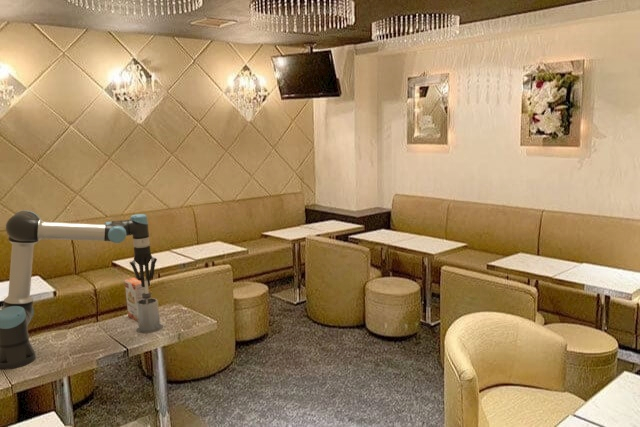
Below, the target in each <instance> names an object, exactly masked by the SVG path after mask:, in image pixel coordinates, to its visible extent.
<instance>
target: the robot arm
mask: <svg viewBox="0 0 640 427" xmlns="http://www.w3.org/2000/svg"><path fill="white" fill-rule="evenodd" d="M5 231H6V233H7V236H8V242H9V243H10V244H11V254H10V265H9V266H10V268H9V269H10V270H9V283H8V292H7V293H8V294H7V296H6V297H5V298H4V299H3V308H2V309H0V369H1V370H9V369H16V368H19V367H23V366H26V365H29V364H30V363H33V361H35V360H36V358H37V355H36V351H35V349H34V348H33V345H32V344H31V342H30V338H29V329H28V326H29V324H30V322H31V320H32V319H33V317H34V314H35V313H34V312H35V311H34V298H33V297H32V296H31V286H32V285H31V284H32V273H33V262H34V261H33V260H34V247H35V245H36V244H37V243H39V242H40V241H41V240H65V241H69V240H70V241H92V242H93V241H97V242H99V241H100V242H111V243H114V244H120V243H122V242H124V240H125V239H126V237H127V236H128V237H129V236H132V243H133V245H132V246H133V254H134V256H133V260H131V261H129V265H130V266H131V267H132V270H133V273H134V276H135V278H136V279H137V280H139V281H141V286H142V287H144V293H145V294H148V293H149V292H150V289H149V287H151V281H150V280H151V279H153V278H154V274H155V267H156V263H157V262H158V259H157V258H156V257H153V254H152V253H151V246H150V244H151V243H150V233H149V221H148V216H147V215H146V214H144V213H136V214H133V215H131V216H130V219H125V220H111V221H106V222H105V223H104V224H103V223H86V222H85V223H82V222H61V221H44V220H43V219H42V218H40V217H39V216H38V214H36V213H35V212H33V211H31V210H21V211H17V212H15V213H14V214H13V216H11V217H10V218H8V219H7V221H6V224H5ZM136 264H138V267H139V268H138V269H139V271H138V269H137V266H136ZM149 267H150V268H149ZM144 272H145V273H144Z"/></svg>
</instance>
